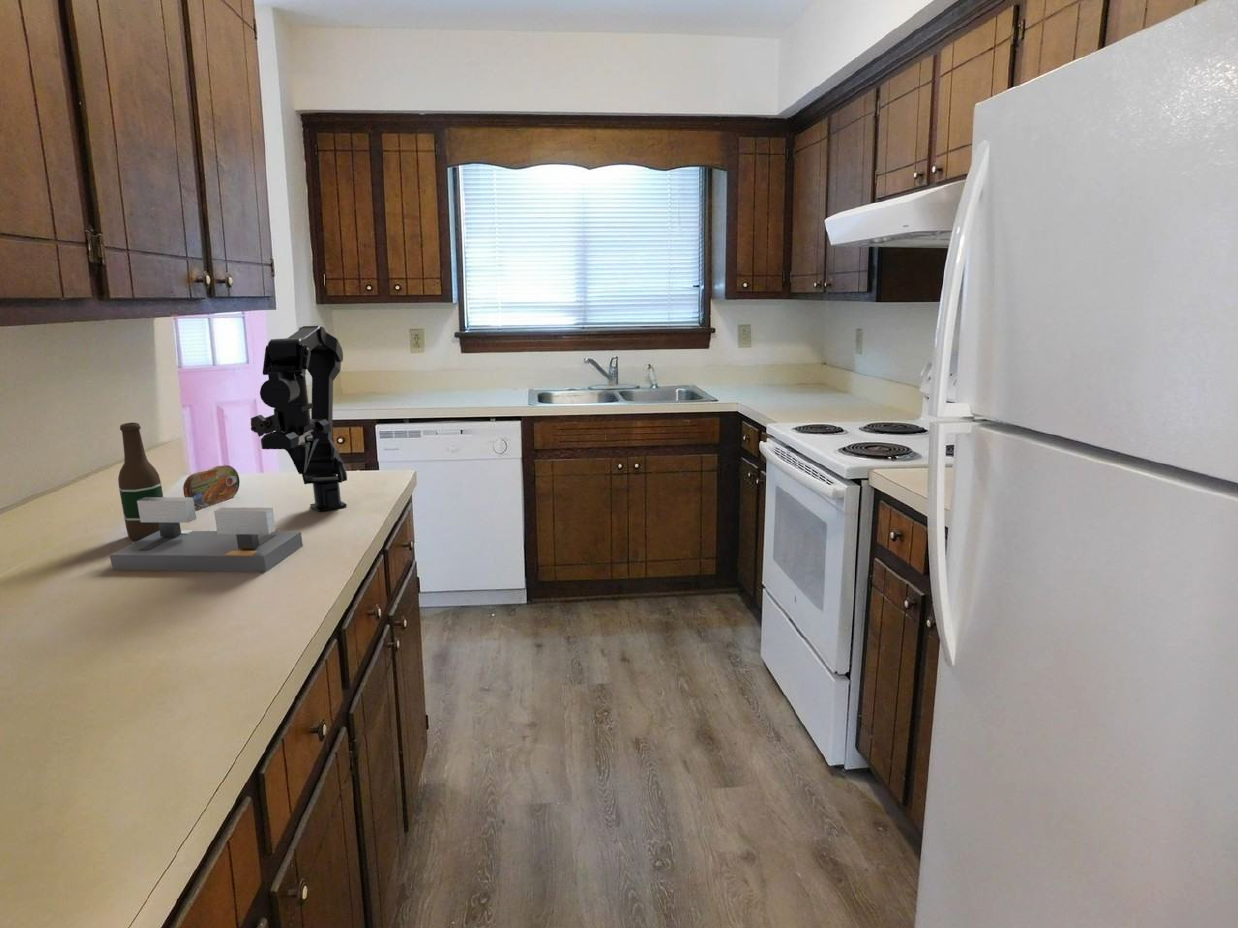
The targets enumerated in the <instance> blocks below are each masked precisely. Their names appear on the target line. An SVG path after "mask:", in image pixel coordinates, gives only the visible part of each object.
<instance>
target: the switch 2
mask: <svg viewBox="0 0 1238 928" xmlns="http://www.w3.org/2000/svg"><path fill="white" fill-rule="evenodd" d="M213 514H214V519H215V527H216V531H217V534H236V537H237V544H238V549H255V548H257V547H258V546H259V539H258V534H271V533H272V532H274V531H275V532H276V529H277V528H276V522H275V515H274V514H275V513H274V507H220V508H218V509H216V510H214V511H213Z"/></svg>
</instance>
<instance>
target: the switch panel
mask: <svg viewBox="0 0 1238 928" xmlns="http://www.w3.org/2000/svg"><path fill="white" fill-rule="evenodd" d="M258 539H259V546H258V547H257V548H255V549H238V544H237V537H236V534H217V530H193V529H189V530H187V529H185V530H183V529H181V534H179V535H177V536H175V537H161V536H160V531H157V532H155V533H153V534H151V535H149V536H147V537H145V538H143V539H141V540H139V541H135V542H133V543H131V544H129V545H127V546H125V547H122V548H121V549H118V550H117V551H115V552H113V553H112V552H111V554H109V558H110V563H111V567H112V568H111V569H112V571H166V572H167V571H168V572H169V571H170V572H171V571H172V572H173V571H175V572H177V571H182V572H184V571H185V572H189V571H190V572H248V573H249V572H251V573H252V572H255V573H256V572H258V573H261V572H263V573H265V572H268V571H269V570H271V569H272V568H274V567H275V566H276V565H278V564H279V563H280V562H282V561H283V560H285V559H286V558H288V557H289V556H291V555H292V554H294V553H295V552H296V551H298V550H299V549H301V548H302V547H303V546H304V545H303V538H302V532H301V531H276V530H275V531H274V532H272V533H271V534H258Z"/></svg>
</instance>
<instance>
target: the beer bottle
mask: <svg viewBox="0 0 1238 928" xmlns="http://www.w3.org/2000/svg"><path fill="white" fill-rule="evenodd" d="M141 429H142V427H141V425H140V423H139V422H126V423H122V424H120V425H119V430H120V431H121V435H122V445H123V455H124V456H123V457H124V459H123V460H124V461H123V462H124V463H123V464H122V466H121V468H120V470H119V473H118V477H117V479H118V480H117V481H118V490H119V494H120V501H121V507H122V511H123V519H124V525H125V530H126V532H127V533H126V534H127V536H128V537H129V539H130V540H131V541H132V542H133V541H135V542H137V541H139V540H141V539H143V538H145V537H147V536H149V535H151V534H153V533H155V532H157V531H160V530H159V524H158V522H141V521H140V516H139V510H138V504H137V500H140V499H142V498H145V497H164V494H163V493H164V492H163V488H162V483H161V482H162V481H161V478H160V475H159V473H158V471H157V469H156V468H155V467H154V466H153V465H152V464H151V462H149V461H148V458H147V457H148V456H146V451H145V448H144V443H143V439H142V434H141V432H140V430H141Z"/></svg>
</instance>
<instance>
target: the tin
mask: <svg viewBox="0 0 1238 928" xmlns="http://www.w3.org/2000/svg"><path fill="white" fill-rule="evenodd" d="M239 487H240V476H239V473H238V472H237V470H236V469H235V468H234V467H233V466H231V465H227V464H224V465H216V466H214V467H210V468H207V469H204V470H201V471H197V472H194V473H191V474H190V475H189V476H188V477H186V479H185V481H184V483H183V486H182V489H183V497H193V500H194V507H195V508H202V509H203V508H205V507H206V508H208V506H209V507H211V505H212V506H214V505H217V504H219V502H220V503H222V502H225V501H227V500H231V499H232V498H234V497H235V496H236V495H237V493H238V490H239V489H240V488H239ZM216 503H217V504H216ZM206 508H205V509H206Z"/></svg>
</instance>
